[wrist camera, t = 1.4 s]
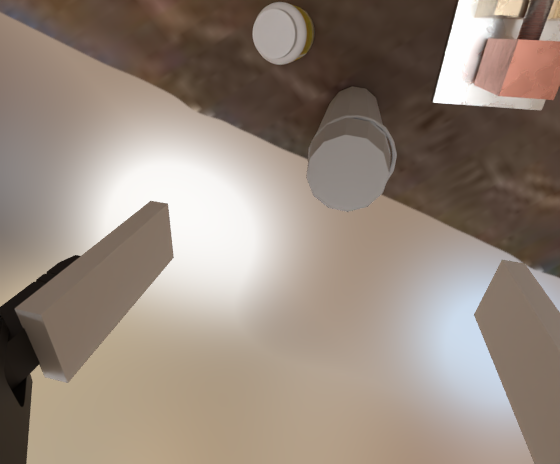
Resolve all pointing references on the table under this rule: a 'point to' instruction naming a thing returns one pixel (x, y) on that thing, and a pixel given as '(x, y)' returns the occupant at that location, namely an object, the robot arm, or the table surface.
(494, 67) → the mallet
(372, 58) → the table surface
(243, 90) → the table surface
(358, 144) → the water bottle
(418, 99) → the table surface
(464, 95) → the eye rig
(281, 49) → the pill bottle
